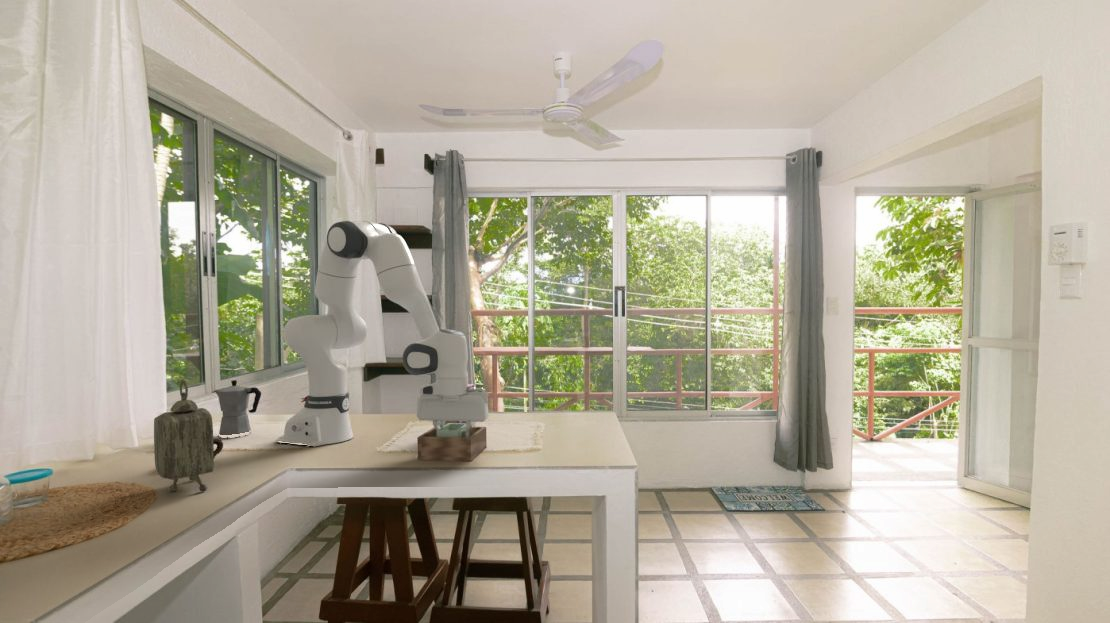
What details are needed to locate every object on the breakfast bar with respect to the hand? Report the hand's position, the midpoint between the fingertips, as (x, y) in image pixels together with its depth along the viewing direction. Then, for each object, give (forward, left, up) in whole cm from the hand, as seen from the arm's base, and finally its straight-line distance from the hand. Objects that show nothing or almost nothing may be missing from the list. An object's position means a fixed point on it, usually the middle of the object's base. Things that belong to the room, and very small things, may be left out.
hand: (453, 436), depth 148 cm
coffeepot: (-77, +11, -5) cm, 78 cm away
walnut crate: (0, 0, -5) cm, 5 cm away
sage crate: (0, 0, -2) cm, 2 cm away
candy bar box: (-5, +18, -5) cm, 20 cm away
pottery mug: (-64, -19, -5) cm, 67 cm away
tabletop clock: (-51, -36, -5) cm, 63 cm away
